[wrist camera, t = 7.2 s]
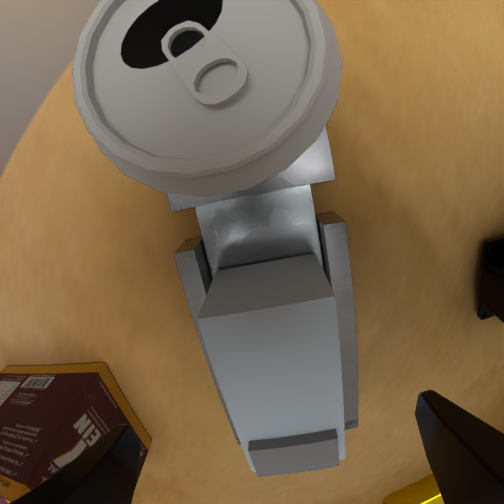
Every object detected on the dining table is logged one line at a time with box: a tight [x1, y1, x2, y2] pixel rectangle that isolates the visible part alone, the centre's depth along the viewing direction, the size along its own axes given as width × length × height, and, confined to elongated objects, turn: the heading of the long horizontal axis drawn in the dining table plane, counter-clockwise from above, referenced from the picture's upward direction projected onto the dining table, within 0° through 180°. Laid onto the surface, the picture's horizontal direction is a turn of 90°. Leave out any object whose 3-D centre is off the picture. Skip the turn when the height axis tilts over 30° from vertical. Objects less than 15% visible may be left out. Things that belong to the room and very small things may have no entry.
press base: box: [167, 126, 358, 445], centre depth 19 cm, size 10×28×3 cm, turn 12°
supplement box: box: [0, 362, 152, 504], centre depth 18 cm, size 10×15×16 cm
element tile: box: [383, 474, 444, 504], centre depth 28 cm, size 15×15×5 cm
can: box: [72, 0, 342, 197], centre depth 11 cm, size 8×8×12 cm
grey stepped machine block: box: [197, 253, 345, 477], centre depth 18 cm, size 6×12×7 cm, turn 12°
